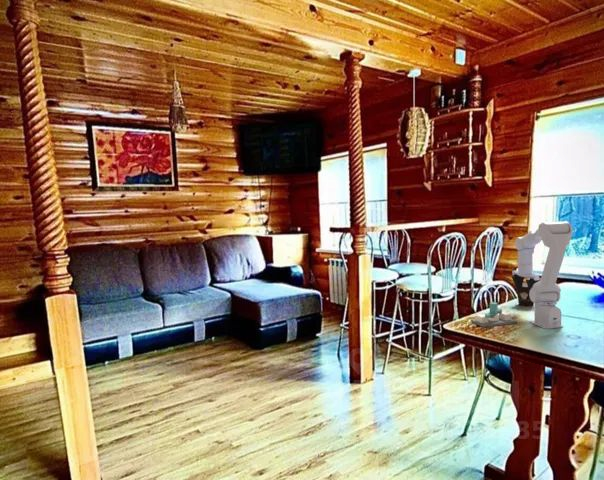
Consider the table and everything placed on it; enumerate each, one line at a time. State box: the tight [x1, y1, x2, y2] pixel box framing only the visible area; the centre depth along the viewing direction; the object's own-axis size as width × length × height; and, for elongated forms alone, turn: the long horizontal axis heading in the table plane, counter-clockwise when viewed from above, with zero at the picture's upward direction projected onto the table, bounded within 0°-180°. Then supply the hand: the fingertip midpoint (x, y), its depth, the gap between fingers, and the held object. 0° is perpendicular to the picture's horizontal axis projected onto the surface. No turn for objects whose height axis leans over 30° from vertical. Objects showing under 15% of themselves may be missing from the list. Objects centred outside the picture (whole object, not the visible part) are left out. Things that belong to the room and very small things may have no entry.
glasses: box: [484, 301, 503, 318], centre depth 170 cm, size 13×4×5 cm, turn 132°
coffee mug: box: [516, 282, 535, 308], centre depth 192 cm, size 12×9×10 cm
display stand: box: [470, 311, 518, 328], centre depth 170 cm, size 16×8×4 cm, turn 100°
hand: (525, 293), depth 180 cm, fingers open, 7 cm apart
